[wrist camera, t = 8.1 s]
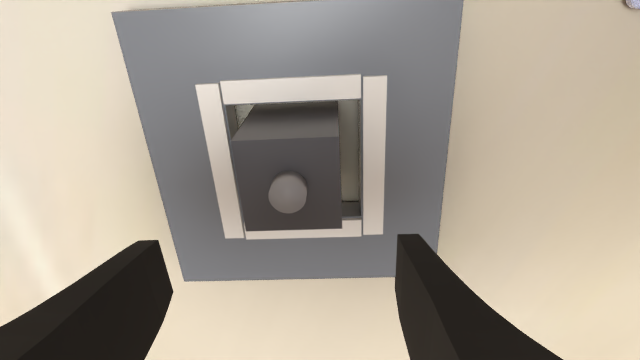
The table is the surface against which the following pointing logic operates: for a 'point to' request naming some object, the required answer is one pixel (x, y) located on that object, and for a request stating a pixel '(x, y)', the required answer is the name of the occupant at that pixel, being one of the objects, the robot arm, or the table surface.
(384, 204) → the socket plate
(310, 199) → the plug block
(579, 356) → the table surface
